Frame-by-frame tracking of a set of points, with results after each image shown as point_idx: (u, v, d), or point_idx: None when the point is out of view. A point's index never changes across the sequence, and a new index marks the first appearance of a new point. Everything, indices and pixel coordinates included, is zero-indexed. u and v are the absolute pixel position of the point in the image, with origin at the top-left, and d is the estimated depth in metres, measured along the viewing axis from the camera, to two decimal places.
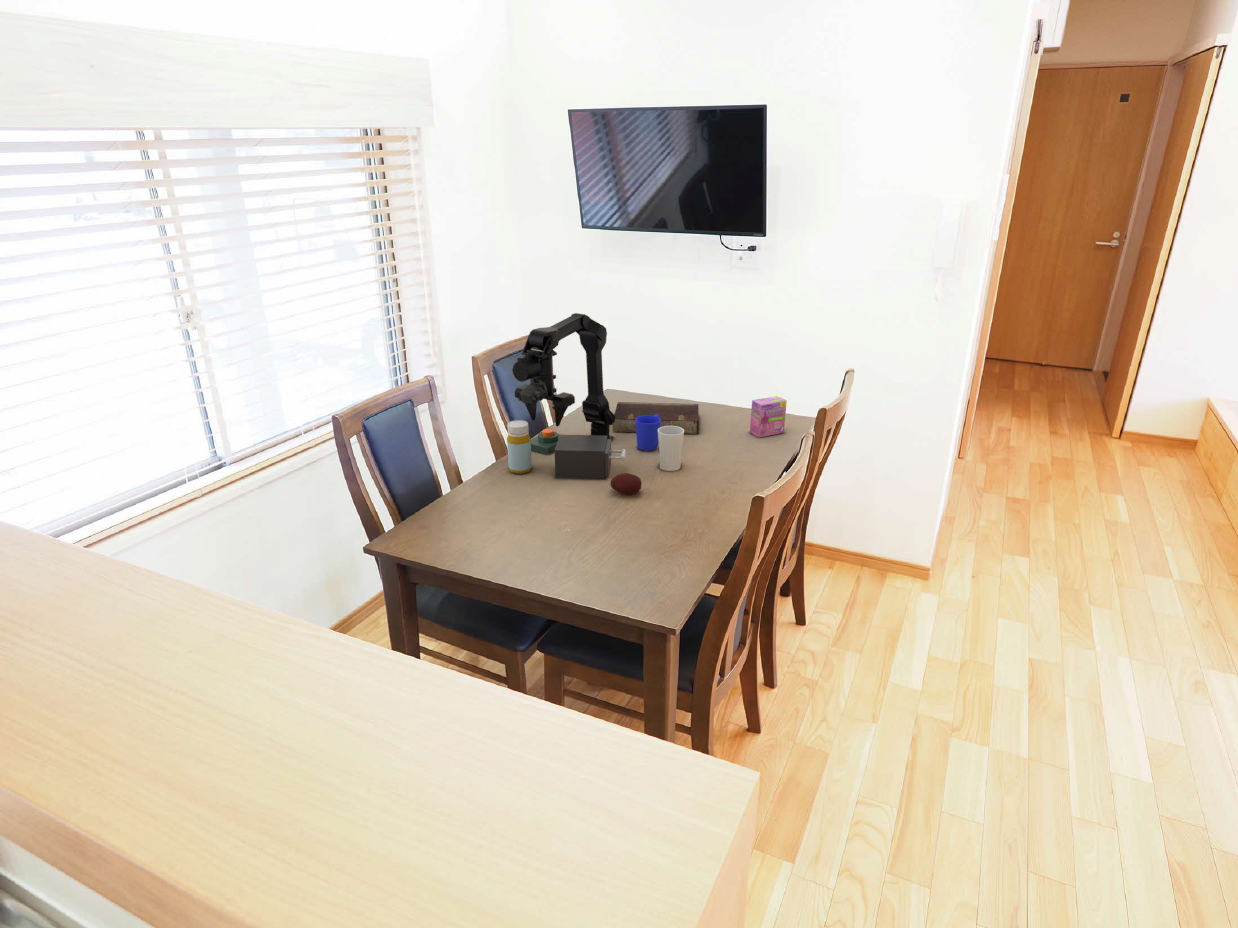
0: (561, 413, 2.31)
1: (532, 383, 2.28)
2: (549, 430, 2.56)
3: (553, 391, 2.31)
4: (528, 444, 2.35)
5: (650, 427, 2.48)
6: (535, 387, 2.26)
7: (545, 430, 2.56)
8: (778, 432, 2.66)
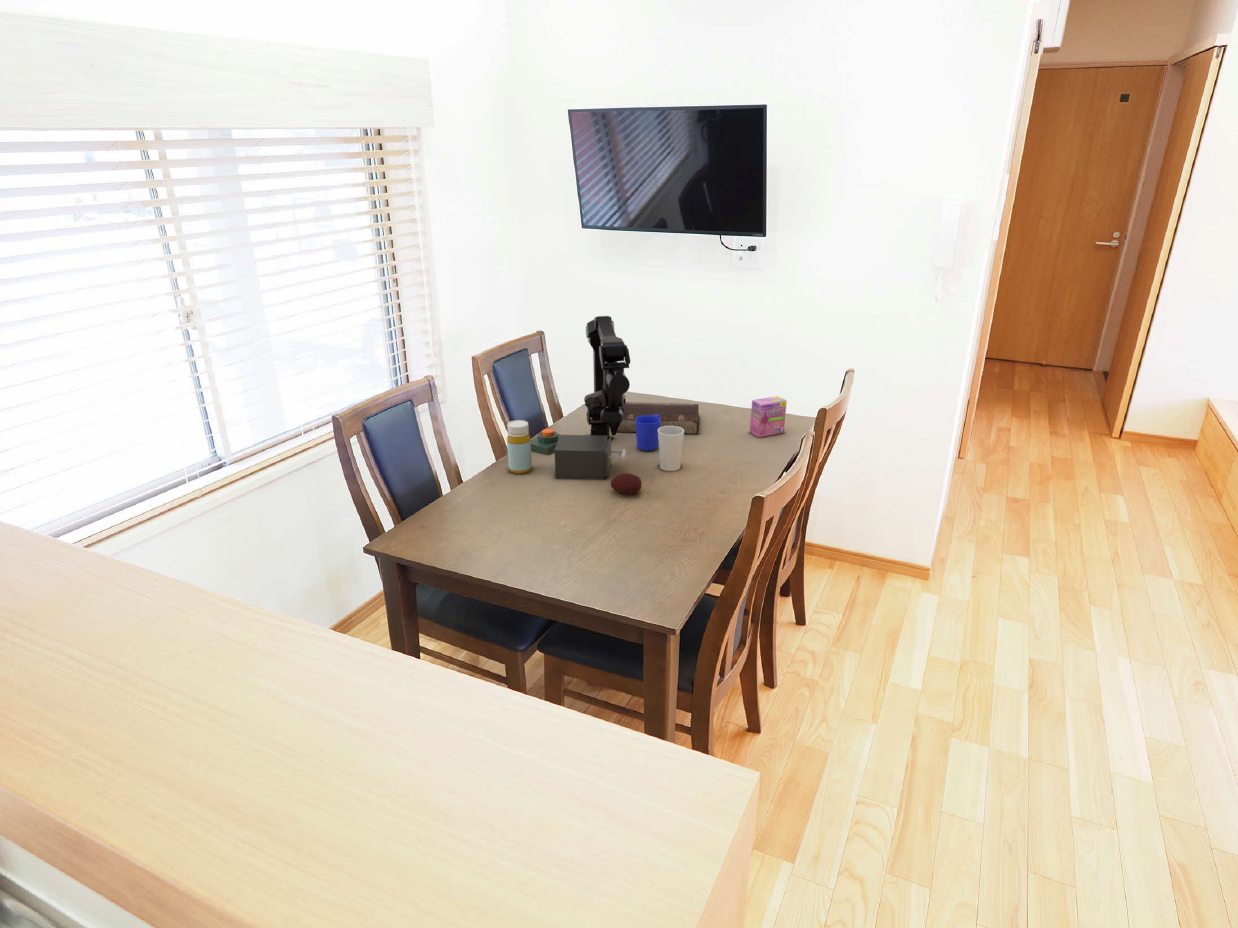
0: (615, 423, 2.30)
1: (602, 390, 2.30)
2: (549, 430, 2.56)
3: (616, 405, 2.27)
4: (528, 444, 2.35)
5: (650, 427, 2.48)
6: (597, 394, 2.28)
7: (545, 430, 2.56)
8: (778, 432, 2.66)
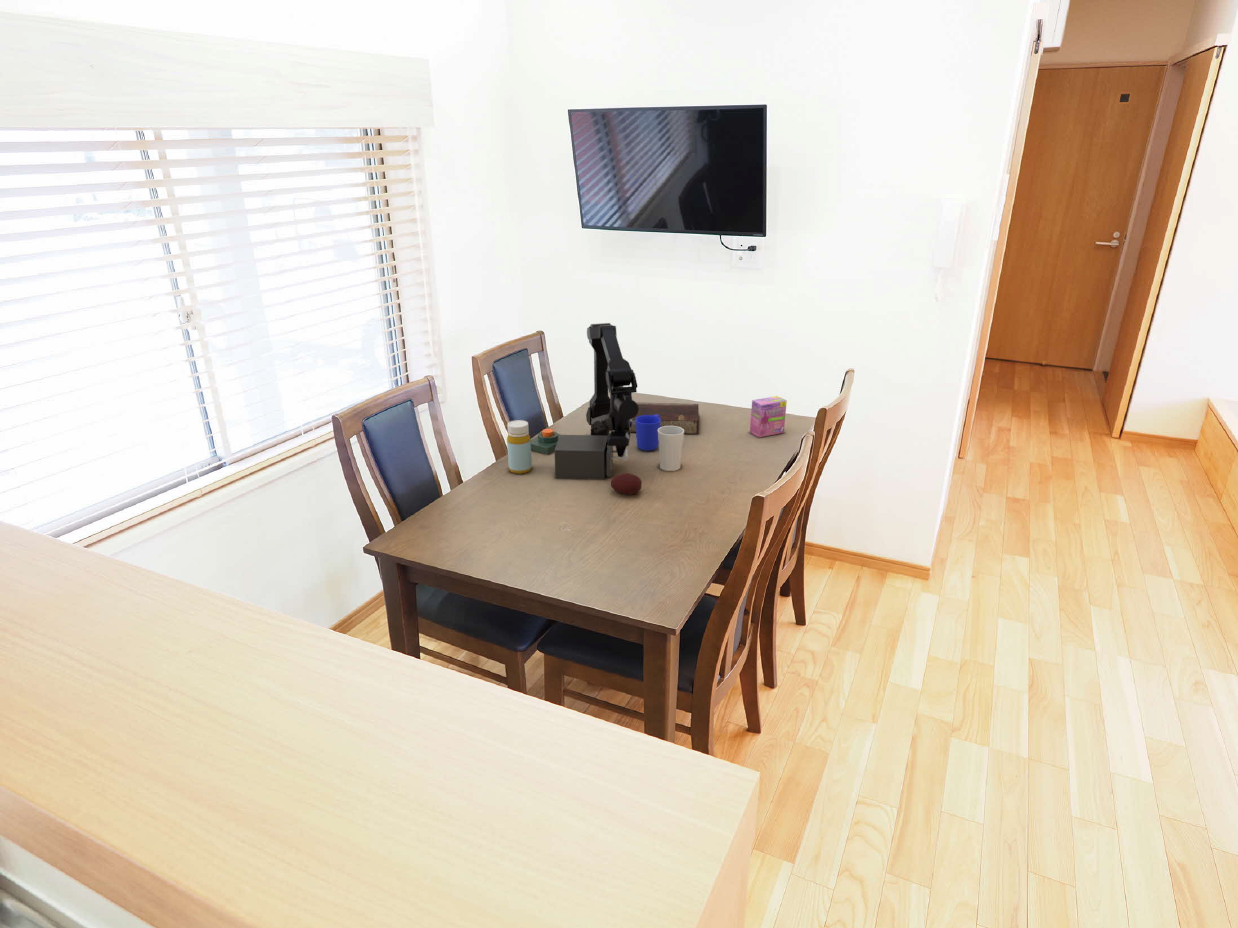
0: (621, 446, 2.34)
1: (608, 414, 2.33)
2: (549, 430, 2.56)
3: (623, 428, 2.30)
4: (528, 444, 2.35)
5: (650, 427, 2.48)
6: (603, 418, 2.31)
7: (545, 430, 2.56)
8: (778, 432, 2.66)
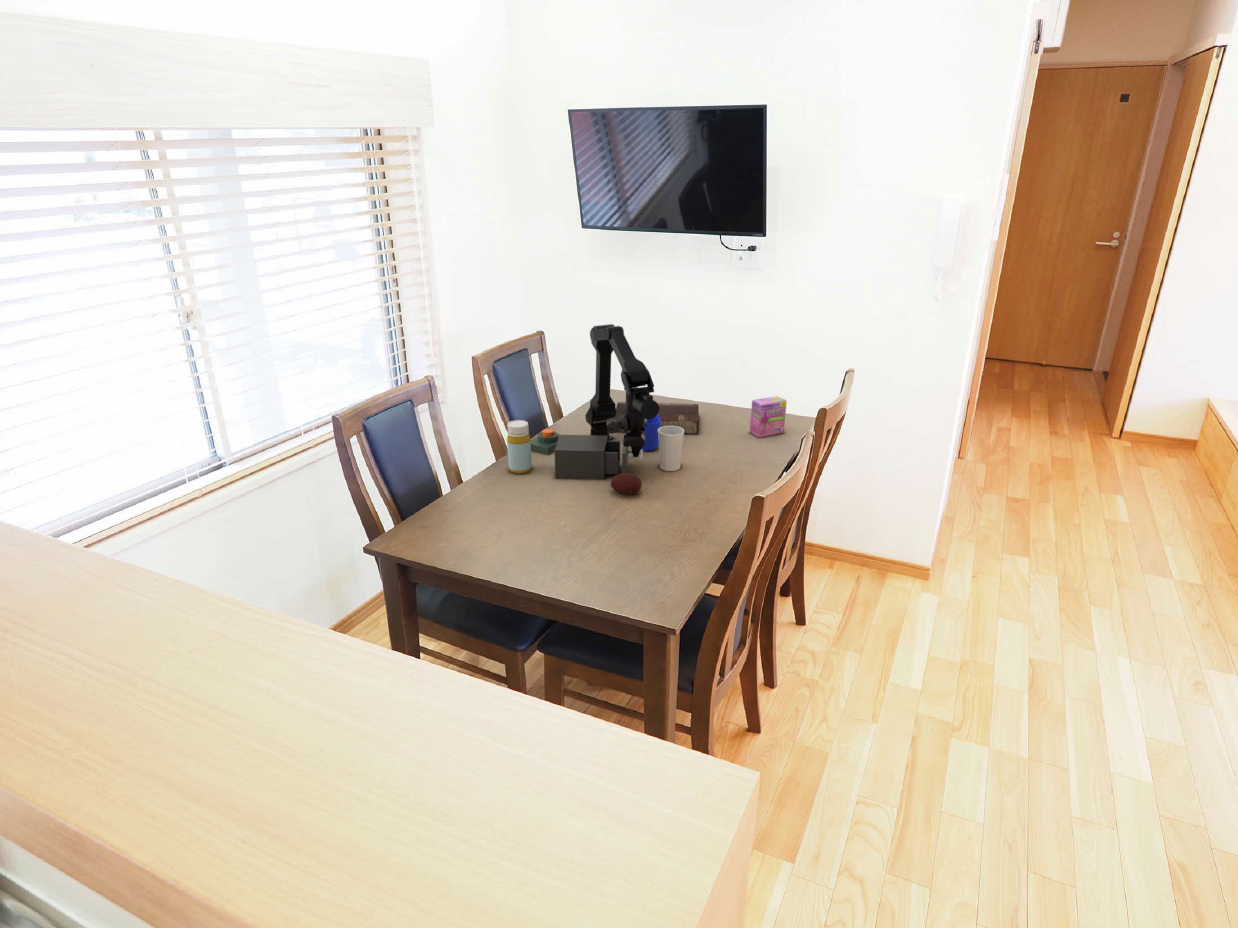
0: (636, 447, 2.33)
1: (624, 415, 2.33)
2: (549, 430, 2.56)
3: (638, 429, 2.30)
4: (528, 444, 2.35)
5: (650, 427, 2.48)
6: (619, 419, 2.31)
7: (545, 430, 2.56)
8: (778, 432, 2.66)
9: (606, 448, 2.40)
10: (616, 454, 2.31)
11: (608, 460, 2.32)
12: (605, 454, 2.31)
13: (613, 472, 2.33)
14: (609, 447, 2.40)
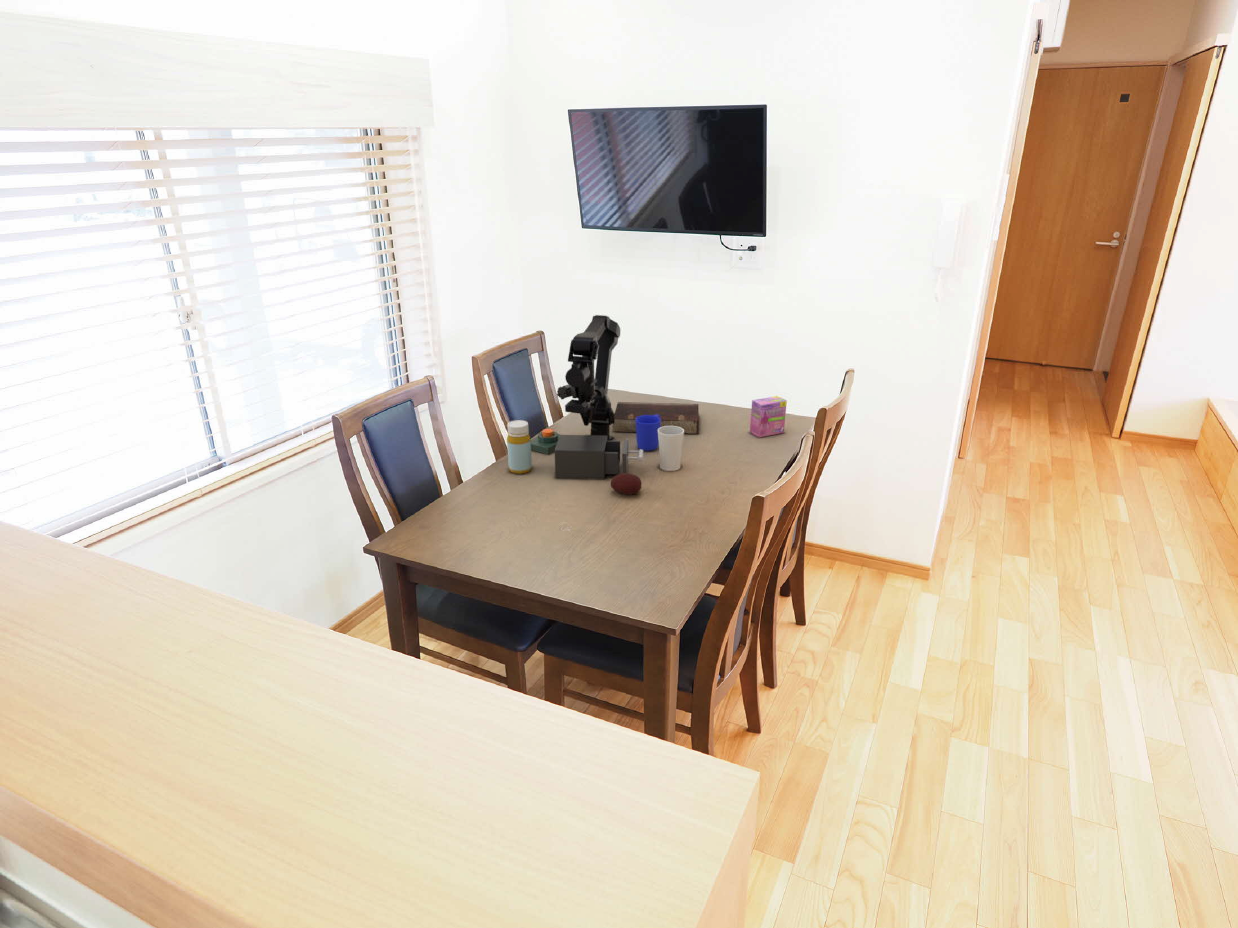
0: (585, 414, 2.41)
1: None
2: (549, 430, 2.56)
3: (585, 397, 2.38)
4: (528, 444, 2.35)
5: (650, 427, 2.48)
6: (570, 386, 2.40)
7: (545, 430, 2.56)
8: (778, 432, 2.66)
9: (606, 448, 2.40)
10: (616, 454, 2.31)
11: (608, 460, 2.32)
12: (605, 454, 2.31)
13: (613, 472, 2.33)
14: (609, 447, 2.40)
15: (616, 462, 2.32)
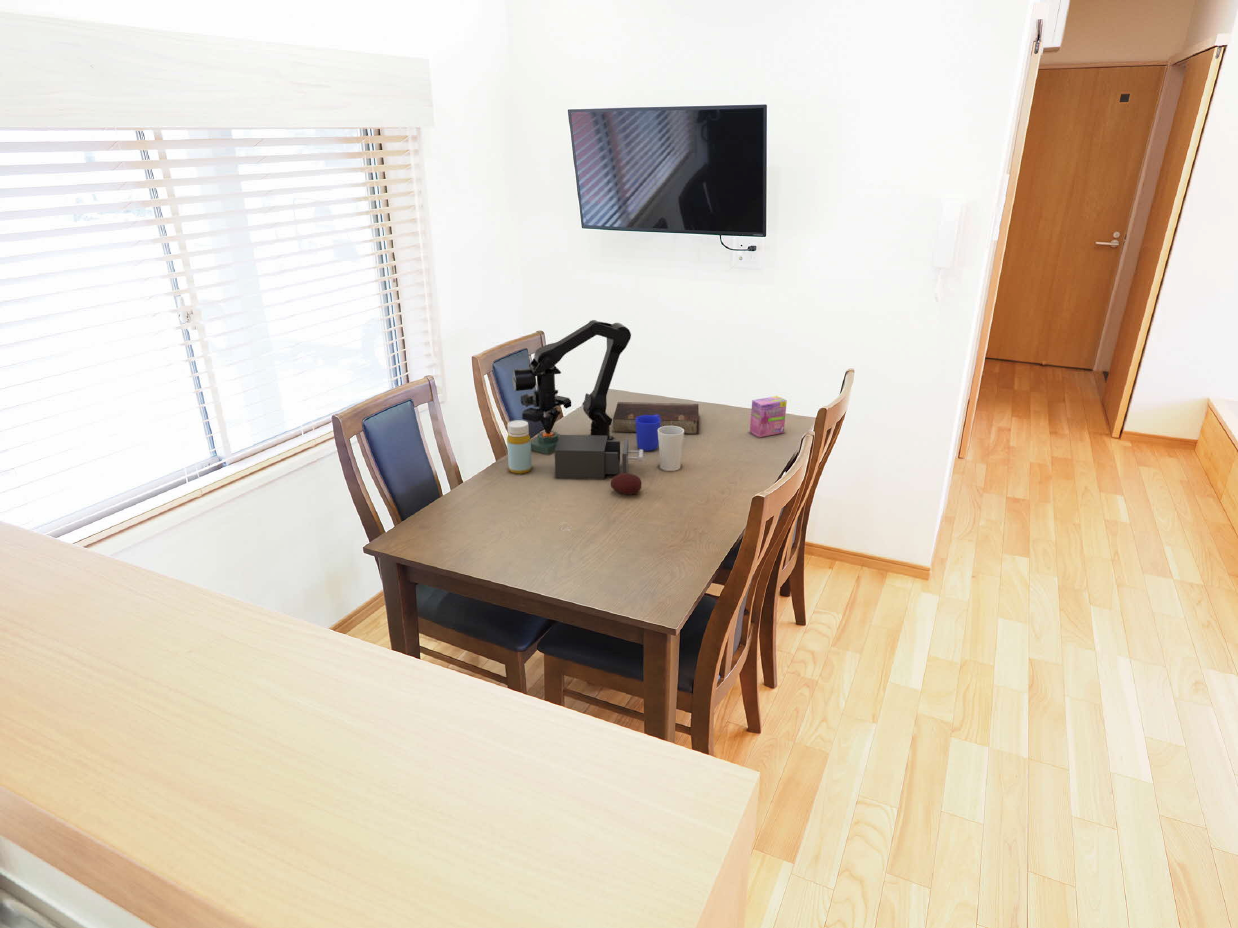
0: (546, 423, 2.53)
1: None
2: None
3: (544, 406, 2.49)
4: (528, 444, 2.35)
5: (650, 427, 2.48)
6: None
7: (545, 433, 2.56)
8: (778, 432, 2.66)
9: (606, 448, 2.40)
10: (616, 454, 2.31)
11: (608, 460, 2.32)
12: (605, 454, 2.31)
13: (613, 472, 2.33)
14: (609, 447, 2.40)
15: (616, 462, 2.32)
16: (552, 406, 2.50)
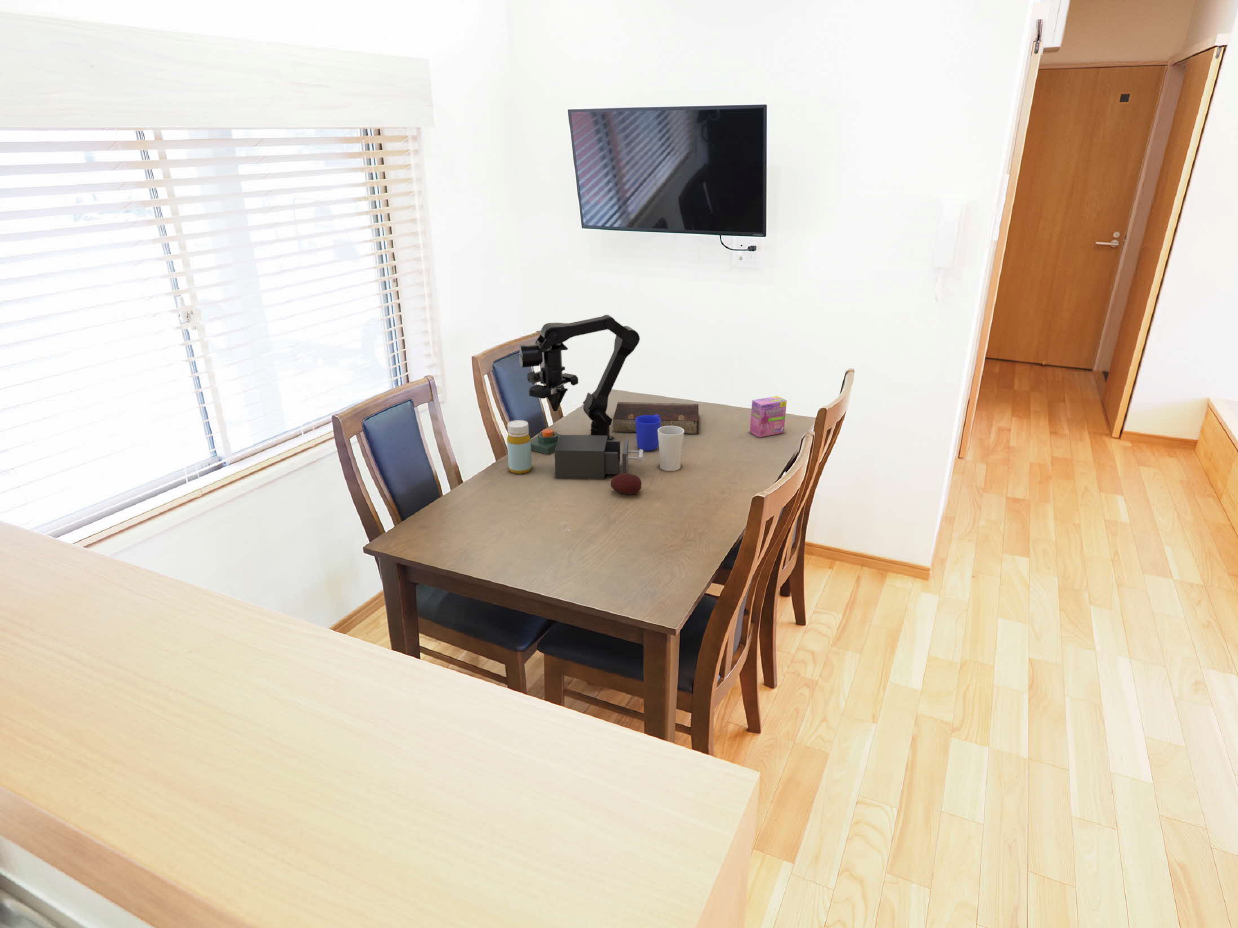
0: (553, 400, 2.51)
1: None
2: (549, 430, 2.56)
3: (551, 383, 2.47)
4: (528, 444, 2.35)
5: (650, 427, 2.48)
6: None
7: (545, 430, 2.56)
8: (778, 432, 2.66)
9: (606, 448, 2.40)
10: (616, 454, 2.31)
11: (608, 460, 2.32)
12: (605, 454, 2.31)
13: (613, 472, 2.33)
14: (609, 447, 2.40)
15: (616, 462, 2.32)
16: (559, 383, 2.48)
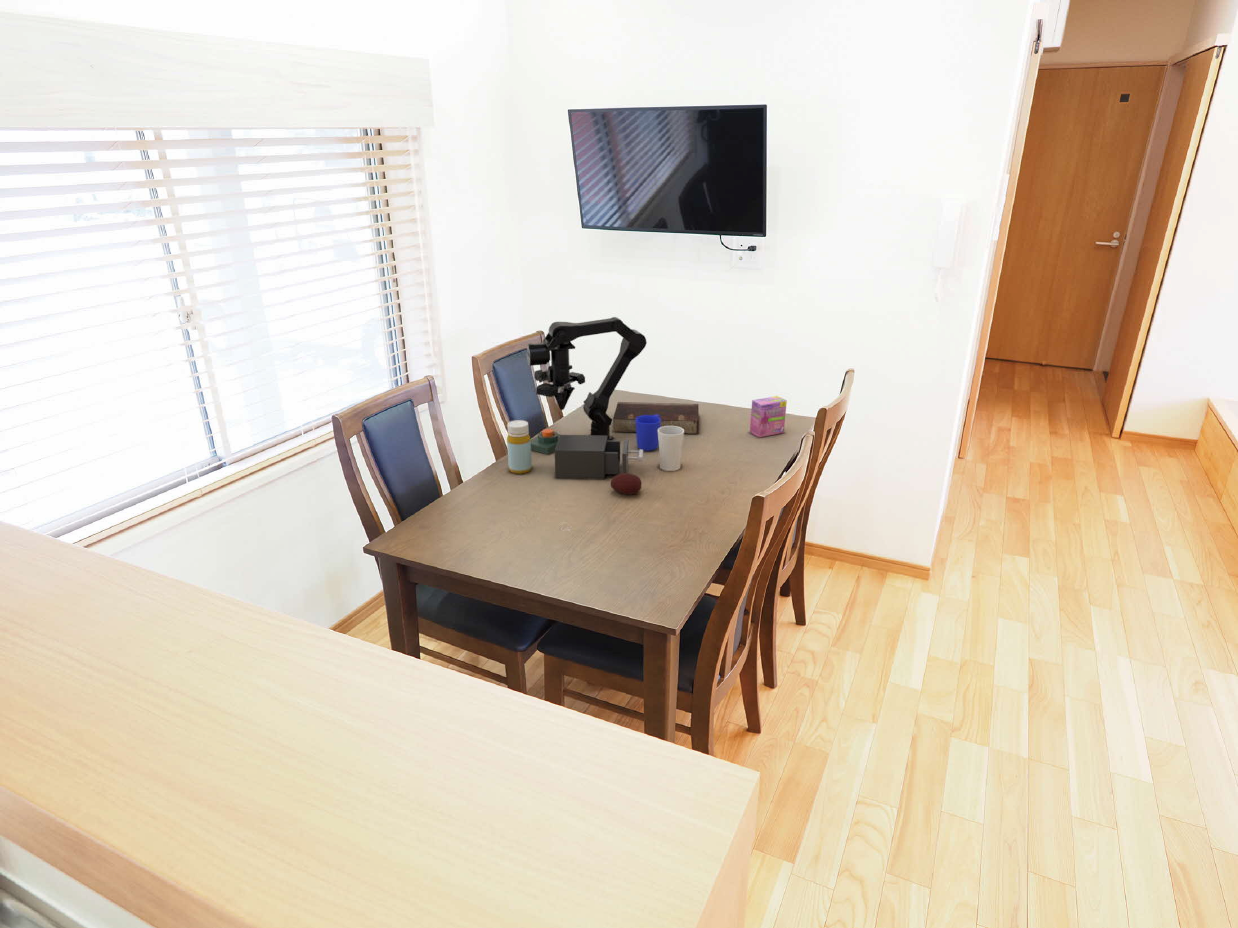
0: (560, 399, 2.51)
1: None
2: (549, 430, 2.56)
3: (558, 382, 2.48)
4: (528, 444, 2.35)
5: (650, 427, 2.48)
6: (547, 370, 2.51)
7: (545, 430, 2.56)
8: (778, 432, 2.66)
9: (606, 448, 2.40)
10: (616, 454, 2.31)
11: (608, 460, 2.32)
12: (605, 454, 2.31)
13: (613, 472, 2.33)
14: (609, 447, 2.40)
15: (616, 462, 2.32)
16: (566, 381, 2.48)
